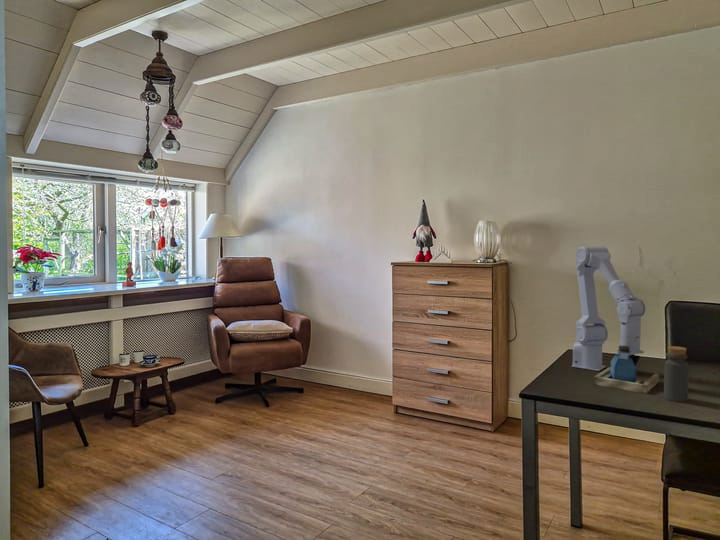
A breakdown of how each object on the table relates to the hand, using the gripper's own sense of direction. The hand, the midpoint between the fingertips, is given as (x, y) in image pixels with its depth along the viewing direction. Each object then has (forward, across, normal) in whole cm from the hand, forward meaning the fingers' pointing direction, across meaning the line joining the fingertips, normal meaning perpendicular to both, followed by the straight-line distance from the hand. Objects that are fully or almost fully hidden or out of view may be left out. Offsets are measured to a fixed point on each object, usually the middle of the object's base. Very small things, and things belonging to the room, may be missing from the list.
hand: (629, 377), depth 162 cm
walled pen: (+1, -3, 0) cm, 3 cm away
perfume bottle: (+1, -5, +1) cm, 5 cm away
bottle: (+2, -12, -15) cm, 19 cm away
